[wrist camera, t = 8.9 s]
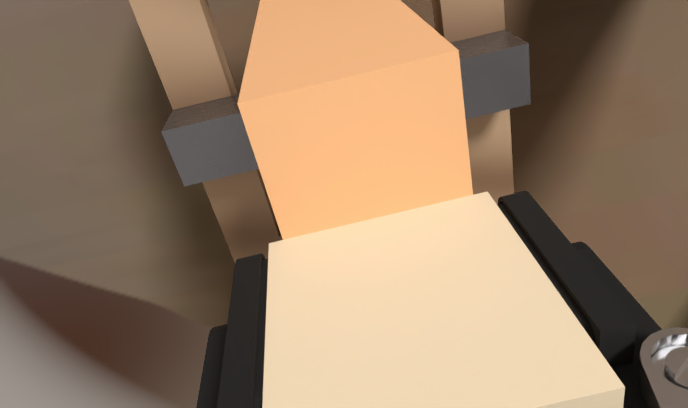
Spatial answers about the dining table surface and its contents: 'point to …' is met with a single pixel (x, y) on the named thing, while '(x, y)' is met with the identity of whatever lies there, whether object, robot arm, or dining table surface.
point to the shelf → (216, 82)
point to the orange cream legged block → (393, 229)
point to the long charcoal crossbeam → (234, 145)
